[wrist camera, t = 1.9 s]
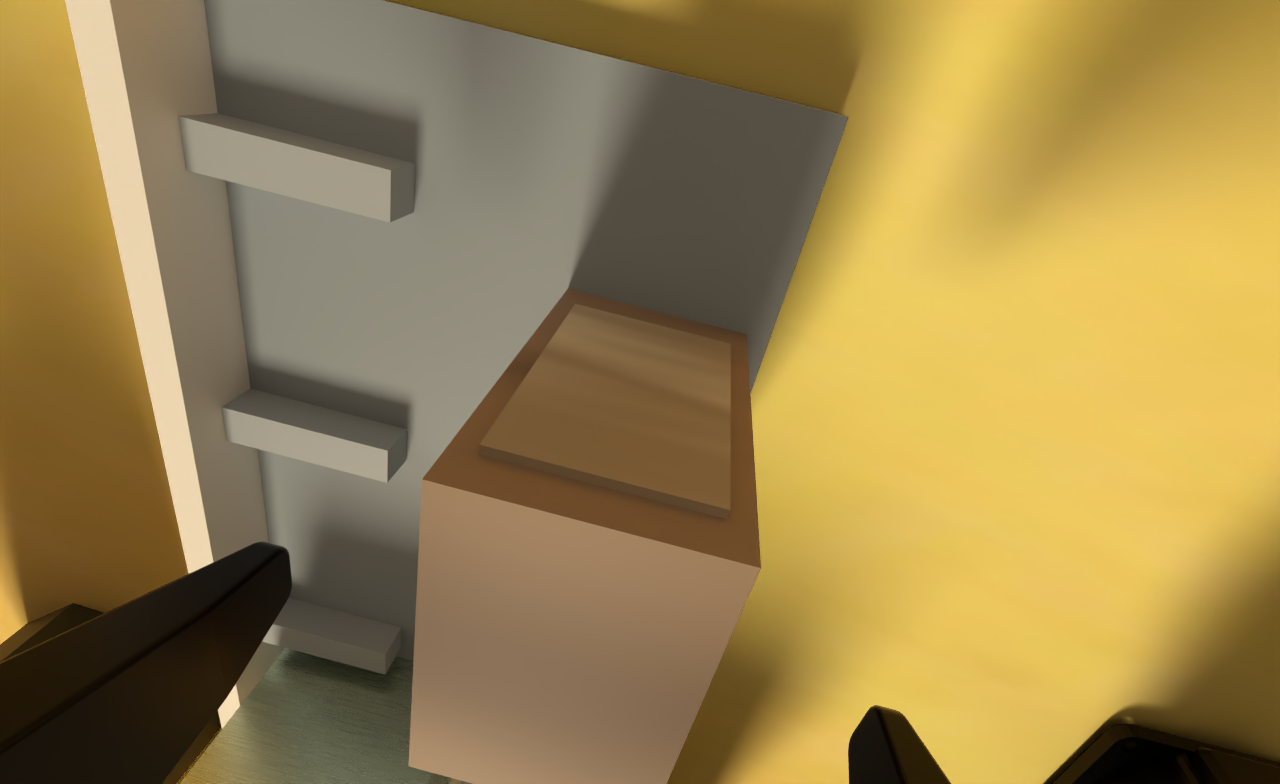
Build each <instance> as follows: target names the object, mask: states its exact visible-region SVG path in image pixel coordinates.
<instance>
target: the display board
mask: <svg viewBox="0 0 1280 784" xmlns="http://www.w3.org/2000/svg"><path fill="white" fill-rule="evenodd" d="M65 3H66V8H67V12H68V17H69V21H70V26H71V31H72V35H73V40H74V45H75V49H76V54H77V59H78V63H79V68H80V73H81V77H82V82H83V86H84V91H85V96H86V100H87V105H88V110H89V114H90V119H91V124H92V128H93V133H94V138H95V142H96V147H97V151H98V156H99V161H100V165H101V170H102V175H103V179H104V184H105V189H106V193H107V198H108V202H109V207H110V212H111V216H112V221H113V226H114V230H115V235H116V240H117V244H118V249H119V254H120V258H121V263H122V267H123V272H124V277H125V281H126V286H127V291H128V295H129V300H130V305H131V309H132V314H133V319H134V323H135V328H136V332H137V337H138V342H139V346H140V351H141V356H142V360H143V365H144V370H145V374H146V379H147V383H148V388H149V393H150V397H151V402H152V407H153V411H154V416H155V421H156V425H157V430H158V435H159V439H160V444H161V448H162V453H163V458H164V462H165V467H166V472H167V476H168V481H169V486H170V490H171V495H172V500H173V504H174V509H175V513H176V518H177V523H178V527H179V532H180V537H181V541H182V546H183V551H184V555H185V560H186V564H187V569H188V574H189V573H192V572H194V571H196V570H198V569H200V568H202V567H204V566H206V565H209V564H211V563H213V562H215V561H217V560H219V559H221V558H223V557H226V556H228V555H230V554H232V553H234V552H236V551H238V550H240V549H243V548H245V547H247V546H249V545H251V544H253V543H257V542H268V543H272V544H275V545H279V546H283V547H285V548H286V549H287V550H288V551H289V556H290V566H291V576H292V590H291V593H290V596H289V598H288V600H287V602H286V604H285V605H284V607H283V608H282V610H281V612H280V613H279V615H278V617H277V618H276V620H275V621H274V623H273V625H272V626H271V628H270V630H269V631H268V633H267V634H266V636H265V638H264V639H263V641H262V642H261V644H260V646H259V647H258V649H257V651H256V652H255V654H254V655H253V657H252V659H251V660H250V662H249V664H248V665H247V667H246V668H245V670H244V672H243V673H242V675H241V676H240V678H239V680H238V681H237V683H236V684H235V686H234V687H233V689H232V691H231V692H230V694H229V695H228V697H227V698H226V699H225V701H224V702H223V704H222V705H221V706H220V708H219V709H218V713H219V718H220V722H221V727H222V728H223V727H224V726H225V725H226V723H227V722H228V721H229V719H230V718H231V717H232V716H233V714H234V713H235V712H236V710H237V709H238V708H239V707H240V705H241V704H242V703H243V701H244V700H245V699H246V698H247V696H248V695H249V694H250V692H251V691H252V690H253V689H254V687H255V686H256V685H257V683H258V682H259V681H260V680H261V678H262V677H263V676H264V674H265V673H266V672H267V671H268V669H269V668H270V667H271V665H272V664H273V663H274V662H275V660H276V659H277V658H278V656H279V655H280V654H281V653H282V651H283V650H284V649H285V648H288V649H292V650H295V651H299V652H303V653H307V654H310V655H314V656H318V657H321V658H325V659H329V660H333V661H336V662H340V663H344V664H348V665H351V666H355V667H359V668H363V669H366V670H370V671H374V672H378V673H381V674H386V672H387V671H388V669H389V667H390V665H391V664H392V662H393V660H394V658H395V657H396V656H397V657H401V658H404V659H408V660H412V661H413V660H414V639H415V617H416V596H417V575H418V553H419V532H420V511H421V489H422V479H423V477H424V476H425V475H426V473H427V472H428V471H429V470H430V468H431V467H432V466H433V464H434V463H435V462H436V460H437V459H438V458H439V456H440V455H441V454H442V453H443V451H444V450H445V449H446V447H447V446H448V445H449V443H450V442H451V441H452V439H453V438H454V437H455V436H456V434H457V433H458V432H459V430H460V429H461V428H462V426H463V425H464V424H465V422H466V421H467V420H468V419H469V417H470V416H471V415H472V413H473V412H474V411H475V409H476V408H477V407H478V405H479V404H480V403H481V402H482V400H483V399H484V398H485V396H486V395H487V394H488V392H489V391H490V390H491V388H492V387H493V386H494V385H495V383H496V382H497V381H498V379H499V378H500V377H501V375H502V374H503V373H504V371H505V370H506V369H507V368H508V366H509V365H510V364H511V362H512V361H513V360H514V358H515V357H516V356H517V354H518V353H519V352H520V351H521V349H522V348H523V347H524V345H525V344H526V343H527V341H528V340H529V339H530V337H531V336H532V335H533V334H534V332H535V331H536V330H537V328H538V327H539V326H540V324H541V323H542V322H543V320H544V319H545V318H546V317H547V315H548V314H549V313H550V311H551V310H552V309H553V307H554V306H555V305H556V303H557V302H558V301H559V300H560V298H561V297H562V296H563V294H564V293H565V292H566V290H567V289H571V290H575V291H579V292H583V293H587V294H591V295H595V296H599V297H603V298H606V299H610V300H614V301H618V302H622V303H626V304H630V305H634V306H638V307H642V308H645V309H649V310H653V311H657V312H661V313H665V314H669V315H673V316H677V317H681V318H684V319H688V320H692V321H696V322H700V323H704V324H708V325H712V326H716V327H720V328H724V329H727V330H731V331H735V332H739V333H743V334H747V347H748V364H749V380H750V393H751V390H752V387H753V385H754V382H755V379H756V376H757V373H758V370H759V368H760V365H761V362H762V359H763V356H764V354H765V351H766V348H767V345H768V342H769V339H770V337H771V334H772V331H773V328H774V325H775V323H776V320H777V317H778V314H779V311H780V308H781V306H782V303H783V300H784V297H785V294H786V292H787V289H788V286H789V283H790V280H791V277H792V275H793V272H794V269H795V266H796V263H797V261H798V258H799V255H800V252H801V249H802V246H803V244H804V241H805V238H806V235H807V232H808V230H809V227H810V224H811V221H812V218H813V215H814V213H815V210H816V207H817V204H818V201H819V199H820V196H821V193H822V190H823V187H824V184H825V182H826V179H827V176H828V173H829V170H830V168H831V165H832V162H833V159H834V156H835V153H836V151H837V148H838V145H839V142H840V139H841V136H842V134H843V131H844V128H845V125H846V122H847V120H848V117H847V116H844V115H842V114H839V113H835V112H831V111H827V110H823V109H819V108H815V107H811V106H807V105H803V104H799V103H795V102H791V101H787V100H783V99H779V98H775V97H771V96H767V95H763V94H759V93H755V92H751V91H747V90H743V89H739V88H735V87H731V86H727V85H723V84H719V83H715V82H711V81H707V80H703V79H699V78H695V77H691V76H687V75H683V74H679V73H675V72H671V71H667V70H663V69H659V68H655V67H651V66H647V65H643V64H639V63H635V62H631V61H627V60H623V59H619V58H615V57H611V56H607V55H603V54H599V53H595V52H591V51H587V50H583V49H579V48H575V47H571V46H567V45H563V44H559V43H555V42H551V41H547V40H543V39H539V38H535V37H531V36H527V35H523V34H519V33H515V32H511V31H507V30H503V29H499V28H495V27H491V26H487V25H483V24H479V23H475V22H471V21H467V20H463V19H459V18H455V17H451V16H447V15H443V14H439V13H435V12H431V11H427V10H423V9H419V8H414V7H411V6H406V5H403V4H398V3H394V2H390V1H386V0H65Z"/></svg>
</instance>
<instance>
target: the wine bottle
mask: <svg viewBox="0 0 1280 784" xmlns="http://www.w3.org/2000/svg"><path fill="white" fill-rule="evenodd" d="M102 614H104V613H101V612H98V611H94V610H91V609H88V608H85V607H82V606H78V605H75V604H71V605H68V606H66V607H64V608H62V609H59V610H57V611H55V612H53V613H50V614H48V615H46V616H44V617H41V618H39V619H37V620H35V621H32V622H30V623H28V624H26V625H25V626H24V627H22V628H21V629H20V630H19V631H17V632H16V633H15V634H13V635H12V636H11V637H10V638H8V639H7V640H6V641H4V642H3V643H2V644H1V645H0V662H2V661H5V660H7V659H9V658H11V657H13V656H15V655H17V654H19V653H22V652H24V651H26V650H28V649H30V648H32V647H34V646H36V645H39V644H41V643H43V642H45V641H47V640H49V639H51V638H53V637H56V636H58V635H60V634H62V633H64V632H66V631H68V630H70V629H73V628H75V627H77V626H79V625H81V624H83V623H85V622H87V621H90V620H92V619H94V618H96V617H98V616H100V615H102ZM219 728H220V727H219V717H218V710H217V712H216V713H215V715H214V716H213V717H212V719H211V720H210V721H209V722H208V724H207V725H206V726H205V728H204V729H203V730H202V732H201V733H200V734H199V736H198V737H197V738H196V740H195V741H194V742H193V744H192V745H191V746H190V748H189V749H188V750H187V752H186V753H185V754H184V755H183V757H182V758H181V759H180V761H179V762H178V763H177V765H176V766H175V767H174V769H173V770H172V771H171V773H170V774H169V775H168V777H167V778H166V779H165V781H164V782H163V783H162V784H176V783H177V781H178V780H179V779H180V777H181V776H182V775H183V774H184V772H185V771H186V770H187V769H188V767H189V766H190V765H191V763H192V762H193V761H194V760H195V758H196V757H197V756H198V755H199V753H200V752H201V751H202V749H203V748H204V747H205V746H206V744H207V743H208V742H209V740H210V739H211V738H212V737H213V735H214V734H215V733H216V732H217V730H218V729H219Z"/></svg>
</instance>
